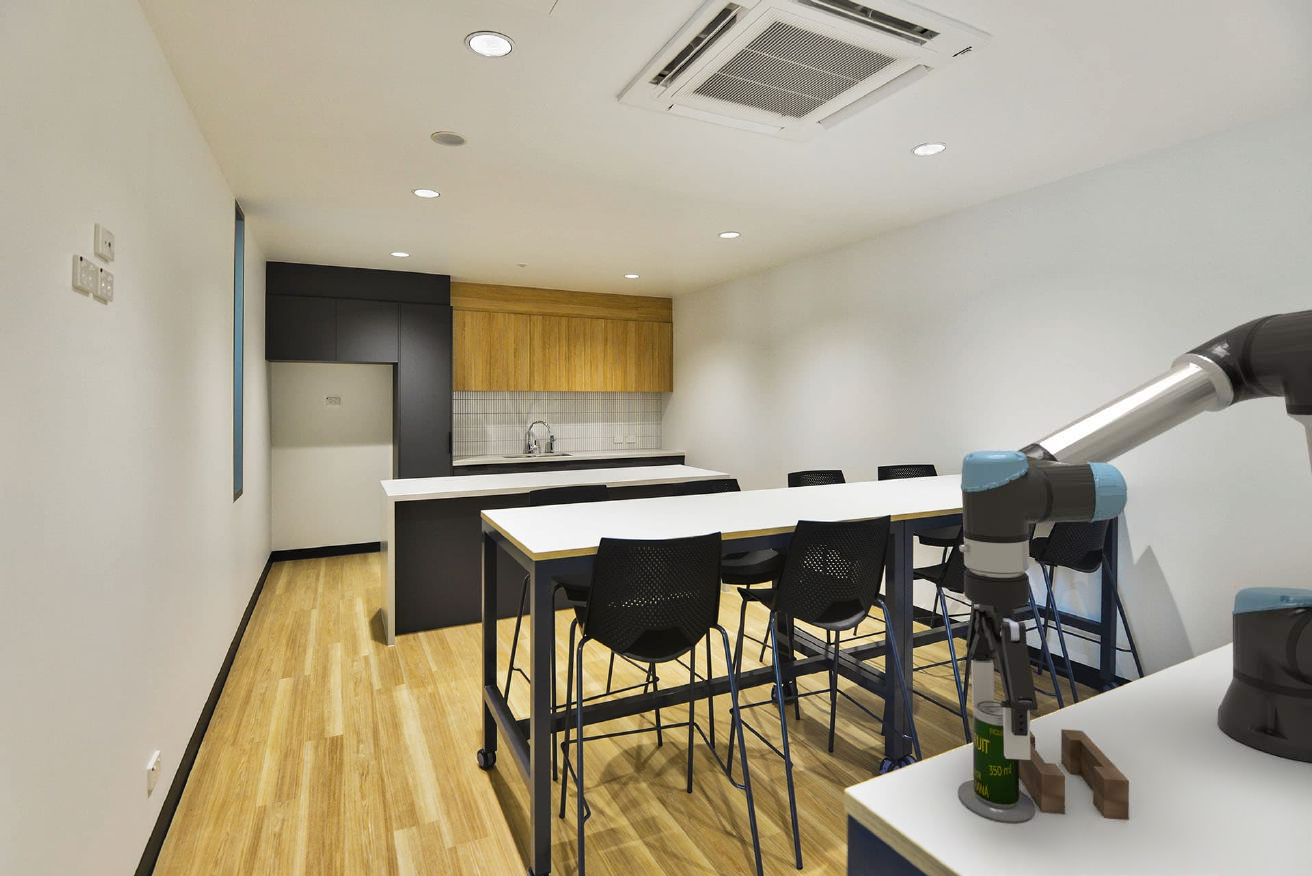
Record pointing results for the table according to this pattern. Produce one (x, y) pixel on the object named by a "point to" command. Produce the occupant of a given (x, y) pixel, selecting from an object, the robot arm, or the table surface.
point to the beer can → (993, 759)
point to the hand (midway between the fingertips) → (998, 730)
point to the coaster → (1012, 815)
